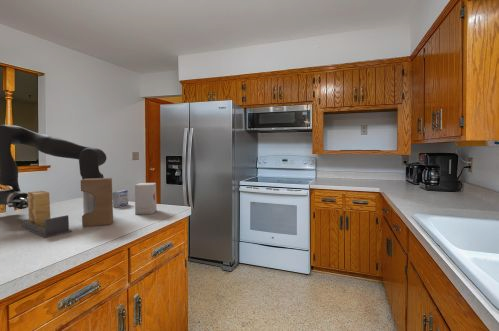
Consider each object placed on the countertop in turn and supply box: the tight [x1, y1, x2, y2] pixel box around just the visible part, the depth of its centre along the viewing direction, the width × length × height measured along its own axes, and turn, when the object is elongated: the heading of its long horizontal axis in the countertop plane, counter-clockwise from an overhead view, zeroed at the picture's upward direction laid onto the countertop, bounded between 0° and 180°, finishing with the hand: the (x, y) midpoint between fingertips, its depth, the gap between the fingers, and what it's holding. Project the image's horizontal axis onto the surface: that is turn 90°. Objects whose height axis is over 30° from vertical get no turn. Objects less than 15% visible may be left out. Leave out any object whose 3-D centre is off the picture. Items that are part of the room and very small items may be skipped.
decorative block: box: [80, 177, 114, 228], centre depth 118 cm, size 11×6×20 cm, turn 104°
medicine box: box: [112, 189, 129, 208], centre depth 157 cm, size 8×4×9 cm, turn 168°
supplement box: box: [134, 182, 157, 215], centre depth 141 cm, size 9×9×15 cm
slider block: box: [27, 190, 51, 226], centre depth 114 cm, size 8×5×14 cm, turn 56°
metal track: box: [21, 215, 72, 239], centre depth 111 cm, size 25×9×7 cm, turn 56°
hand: (33, 204), depth 118 cm, fingers closed
